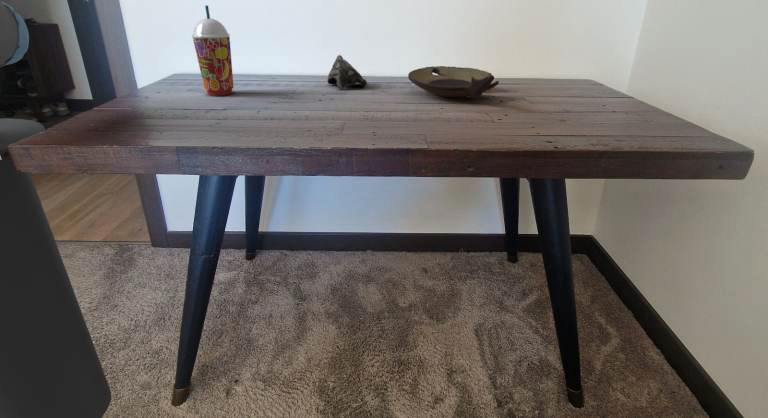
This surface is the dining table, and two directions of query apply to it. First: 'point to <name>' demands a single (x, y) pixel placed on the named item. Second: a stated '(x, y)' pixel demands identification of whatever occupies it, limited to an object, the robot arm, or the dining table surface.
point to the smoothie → (214, 56)
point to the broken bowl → (453, 81)
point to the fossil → (344, 74)
